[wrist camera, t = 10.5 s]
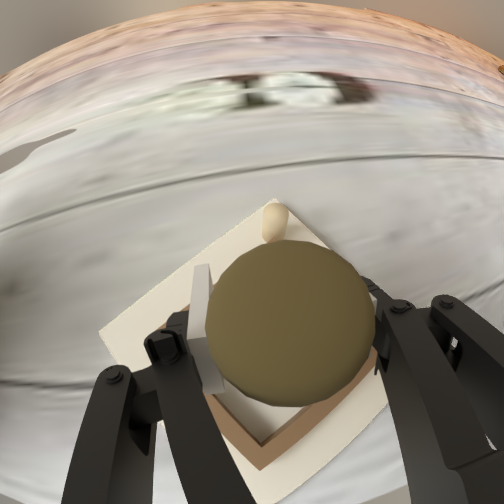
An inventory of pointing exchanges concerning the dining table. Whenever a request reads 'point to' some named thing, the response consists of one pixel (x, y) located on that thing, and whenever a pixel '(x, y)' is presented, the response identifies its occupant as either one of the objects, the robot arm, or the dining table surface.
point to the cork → (290, 323)
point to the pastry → (501, 68)
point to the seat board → (232, 400)
